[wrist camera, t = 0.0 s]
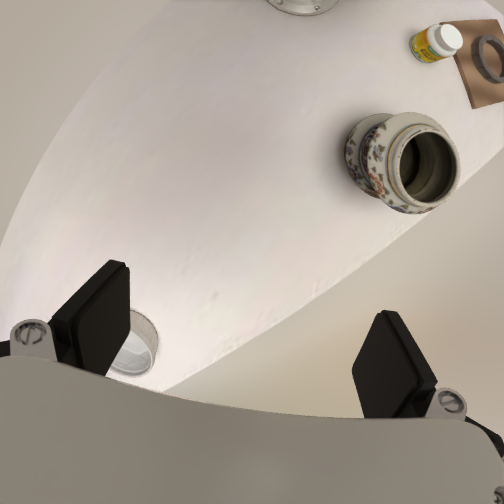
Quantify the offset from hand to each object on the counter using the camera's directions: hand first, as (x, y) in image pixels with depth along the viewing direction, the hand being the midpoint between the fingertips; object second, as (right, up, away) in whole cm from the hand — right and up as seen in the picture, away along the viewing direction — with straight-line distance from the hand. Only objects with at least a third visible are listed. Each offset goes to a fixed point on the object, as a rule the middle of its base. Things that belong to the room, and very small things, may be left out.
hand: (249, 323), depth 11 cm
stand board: (+42, +37, +23) cm, 61 cm away
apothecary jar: (+19, +18, +32) cm, 41 cm away
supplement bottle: (+28, +35, +25) cm, 51 cm away
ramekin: (-24, -13, +47) cm, 55 cm away
